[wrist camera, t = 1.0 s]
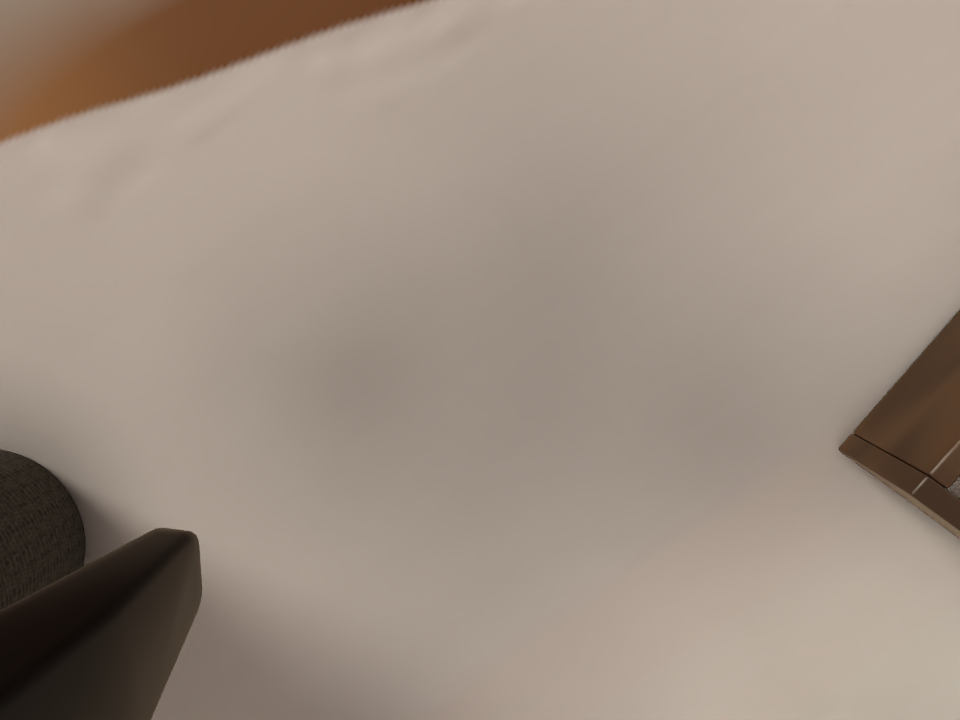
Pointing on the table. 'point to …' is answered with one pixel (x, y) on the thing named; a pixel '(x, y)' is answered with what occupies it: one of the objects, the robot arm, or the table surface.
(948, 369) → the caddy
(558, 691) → the table surface
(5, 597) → the coffee cup
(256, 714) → the table surface
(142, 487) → the table surface
